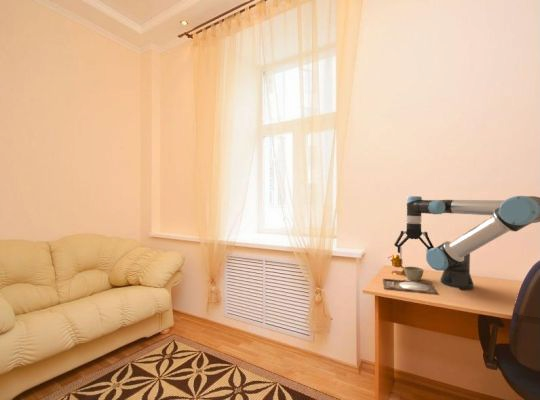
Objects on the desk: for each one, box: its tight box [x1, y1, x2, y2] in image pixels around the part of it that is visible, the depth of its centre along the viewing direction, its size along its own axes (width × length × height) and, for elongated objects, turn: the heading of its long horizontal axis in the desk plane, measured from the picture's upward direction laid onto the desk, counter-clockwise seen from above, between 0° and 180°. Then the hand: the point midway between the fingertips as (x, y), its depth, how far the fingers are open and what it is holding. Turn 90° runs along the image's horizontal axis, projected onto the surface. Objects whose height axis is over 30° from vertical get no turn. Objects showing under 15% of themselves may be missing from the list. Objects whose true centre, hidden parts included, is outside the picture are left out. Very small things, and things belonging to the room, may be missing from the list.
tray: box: [382, 278, 438, 295], centre depth 148 cm, size 24×16×2 cm, turn 71°
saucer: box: [399, 282, 429, 291], centre depth 147 cm, size 14×14×1 cm
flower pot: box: [403, 266, 424, 282], centre depth 160 cm, size 10×10×7 cm
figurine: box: [387, 254, 406, 276], centre depth 175 cm, size 9×11×12 cm
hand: (413, 259), depth 161 cm, fingers open, 13 cm apart
